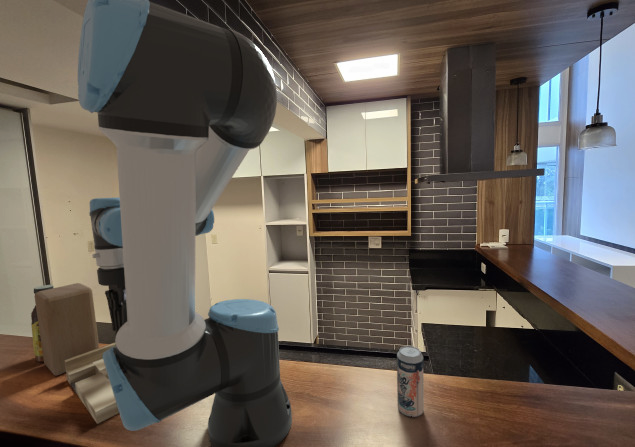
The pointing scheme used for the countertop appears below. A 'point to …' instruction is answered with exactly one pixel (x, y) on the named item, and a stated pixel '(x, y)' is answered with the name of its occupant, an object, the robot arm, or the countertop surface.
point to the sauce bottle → (37, 327)
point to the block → (66, 324)
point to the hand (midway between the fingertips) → (127, 361)
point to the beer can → (410, 381)
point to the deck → (92, 383)
